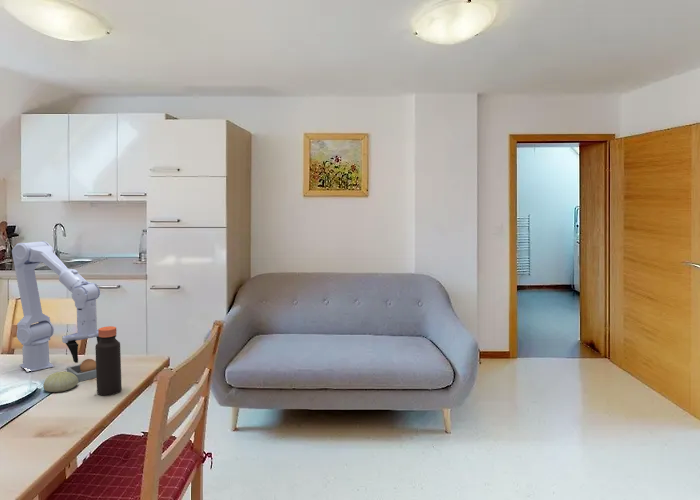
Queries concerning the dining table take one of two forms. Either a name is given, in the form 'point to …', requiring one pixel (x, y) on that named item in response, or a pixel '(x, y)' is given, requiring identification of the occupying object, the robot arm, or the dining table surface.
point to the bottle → (108, 362)
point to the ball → (88, 365)
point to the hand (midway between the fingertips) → (88, 359)
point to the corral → (81, 376)
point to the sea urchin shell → (60, 381)
